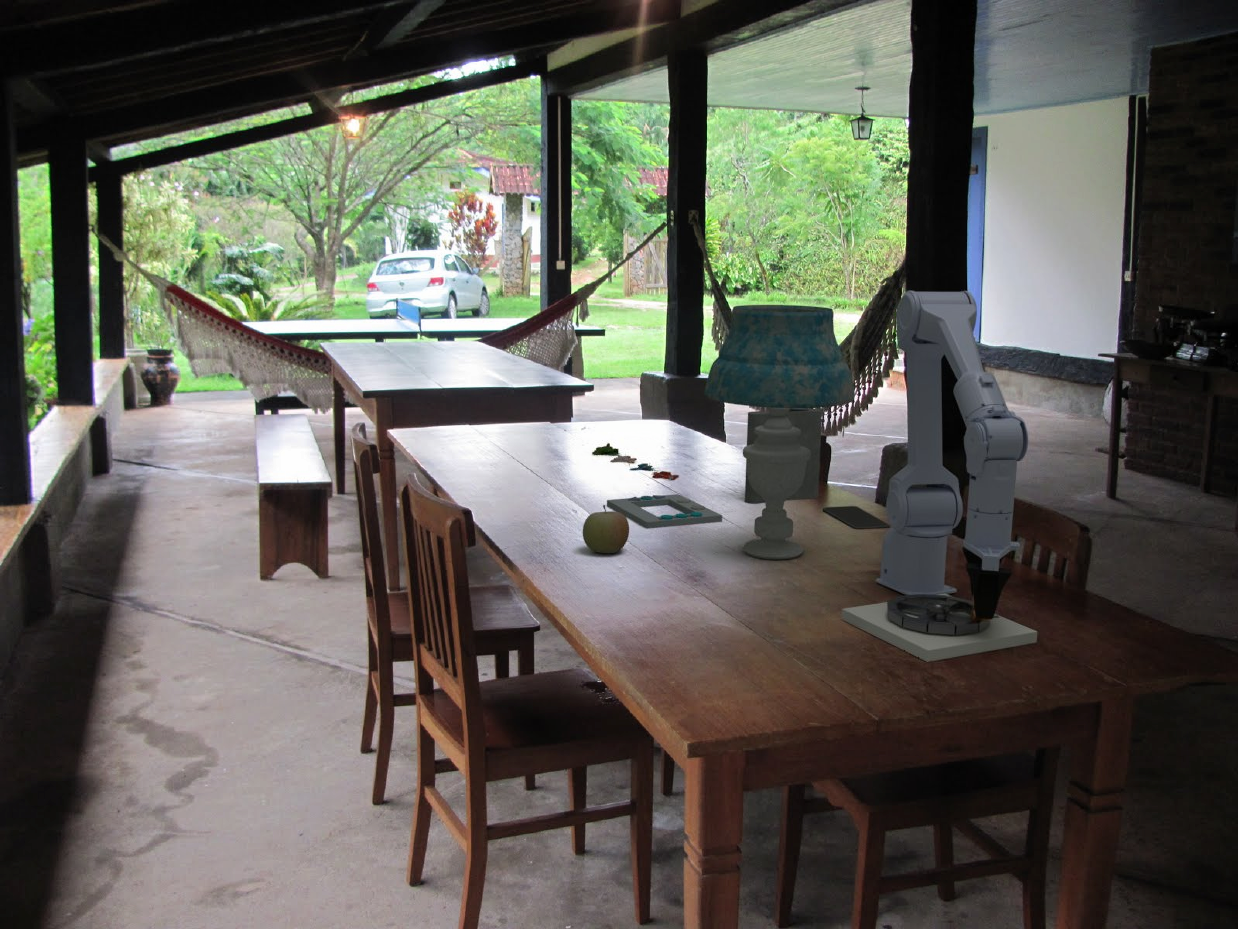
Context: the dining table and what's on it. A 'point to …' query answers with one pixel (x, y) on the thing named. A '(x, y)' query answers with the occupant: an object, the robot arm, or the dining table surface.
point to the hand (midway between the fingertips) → (982, 609)
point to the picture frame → (691, 515)
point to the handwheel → (935, 614)
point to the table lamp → (779, 401)
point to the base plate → (934, 644)
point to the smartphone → (855, 517)
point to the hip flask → (808, 438)
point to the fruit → (606, 531)
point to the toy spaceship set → (644, 466)
